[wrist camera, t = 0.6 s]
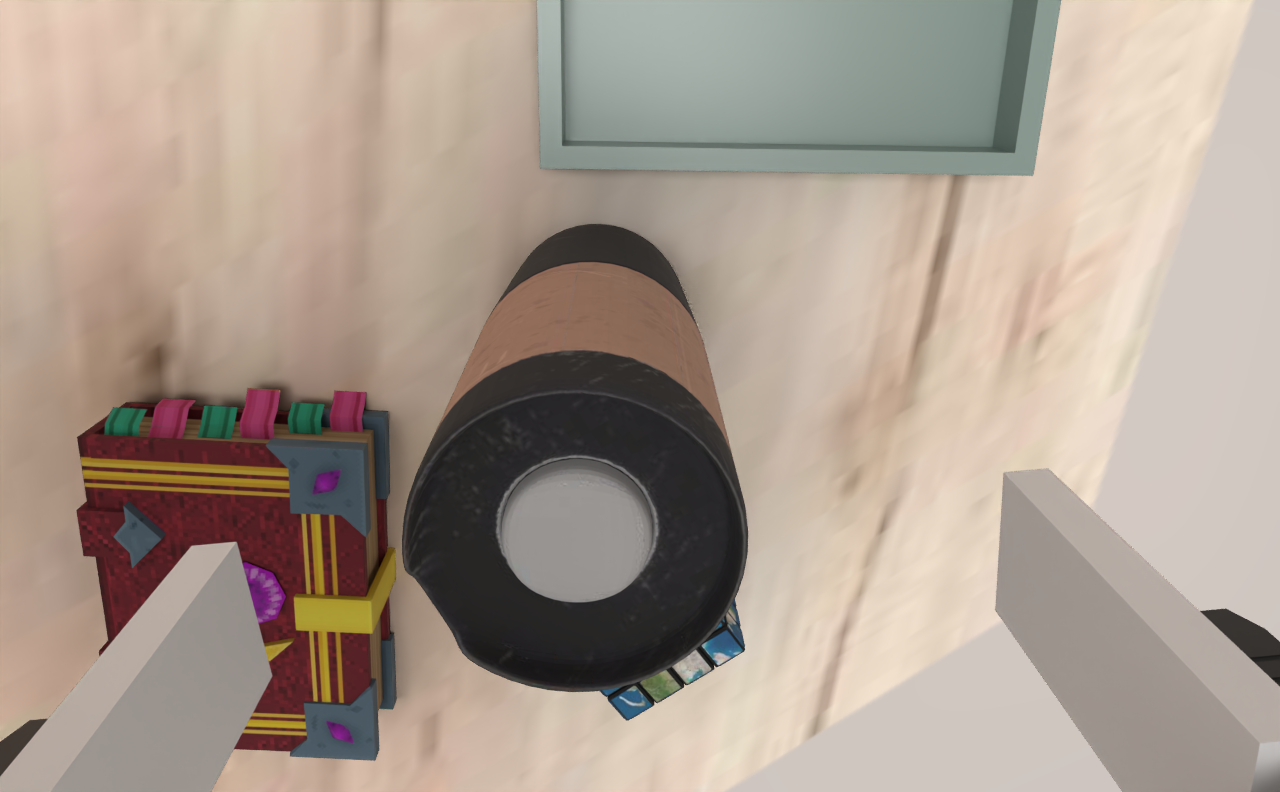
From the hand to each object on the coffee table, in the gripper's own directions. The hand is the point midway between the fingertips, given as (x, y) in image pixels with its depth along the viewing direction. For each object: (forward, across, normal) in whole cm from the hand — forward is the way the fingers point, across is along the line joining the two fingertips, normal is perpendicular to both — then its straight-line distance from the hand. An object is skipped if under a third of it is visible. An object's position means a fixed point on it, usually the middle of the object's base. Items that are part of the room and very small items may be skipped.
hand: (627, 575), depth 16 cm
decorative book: (+24, -17, -11) cm, 31 cm away
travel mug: (+24, -1, -2) cm, 24 cm away
